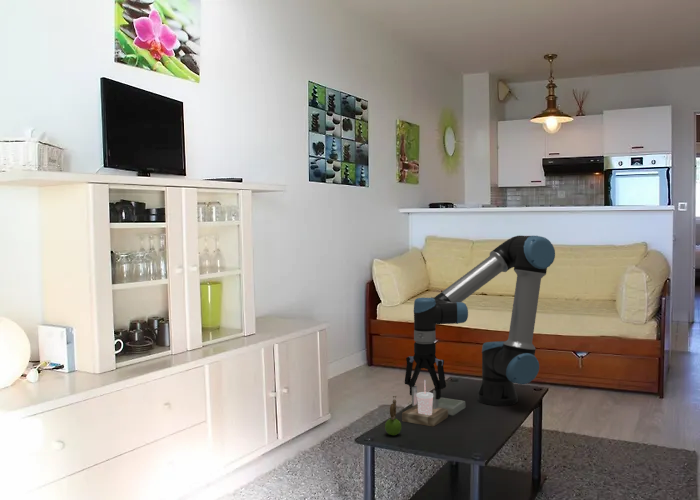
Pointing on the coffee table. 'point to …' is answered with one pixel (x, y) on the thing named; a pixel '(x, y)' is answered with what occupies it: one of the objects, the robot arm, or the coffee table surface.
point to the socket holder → (425, 416)
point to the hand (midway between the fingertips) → (425, 406)
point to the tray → (451, 405)
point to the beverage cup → (425, 401)
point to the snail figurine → (393, 421)
